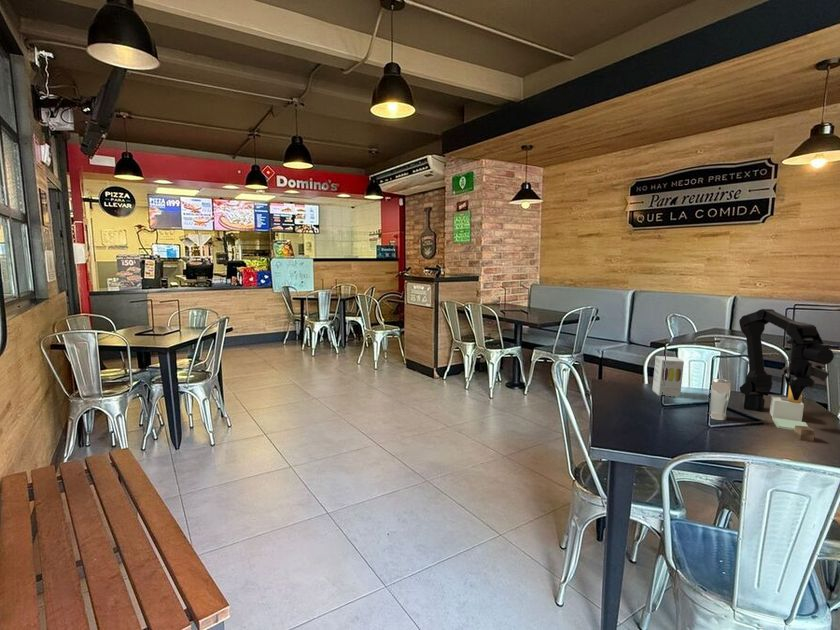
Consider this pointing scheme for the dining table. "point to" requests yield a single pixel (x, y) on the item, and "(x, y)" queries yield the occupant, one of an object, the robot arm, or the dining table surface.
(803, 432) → the walnut block
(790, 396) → the orange knob
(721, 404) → the beer glass
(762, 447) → the dining table surface
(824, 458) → the dining table surface
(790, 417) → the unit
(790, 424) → the pad
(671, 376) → the supplement box
